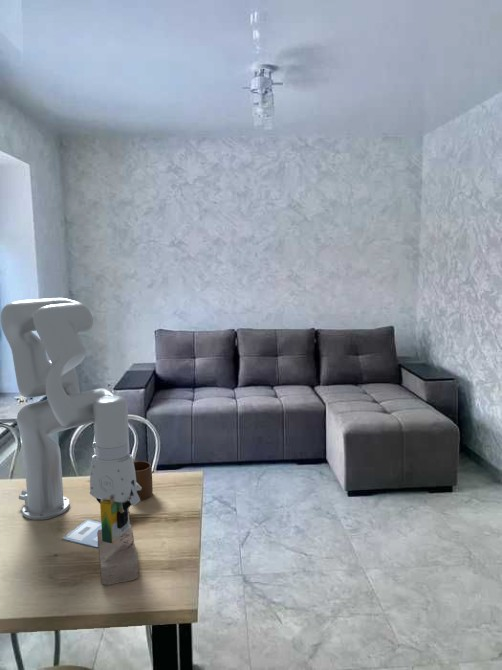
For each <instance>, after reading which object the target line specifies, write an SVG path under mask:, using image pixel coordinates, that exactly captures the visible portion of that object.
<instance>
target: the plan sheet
mask: <svg viewBox="0 0 502 670" xmlns="http://www.w3.org/2000/svg"><path fill="white" fill-rule="evenodd" d="M101 529H102V525H101V521H96V520H93V519H86V520H85V521H84V522H81V524H78V526H77V527H76V528H74V529H73V530H71V531H70V532H69V533H67V534H66V535H65V536H64V537H63V538H62V541H63V540H64V541H67V542H71V543H75V544H80V545H83V546H88V547H91V548H96V549H98V536H97V532H98V530H101Z"/></svg>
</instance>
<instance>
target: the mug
mask: <svg viewBox="0 0 502 670" xmlns="http://www.w3.org/2000/svg"><path fill="white" fill-rule="evenodd" d="M132 459H133V463H134V467H135V474H136V482H137V483H138V484H139V485H140V486H141V487H142V489H141V490H140V491H139V490H138V491H136V492H137V494H138V496H139V498H140V501H144V500H147V499H149V498H150V497H151V496H152V495H153V488H154V487H153V470H152V469H153V468H152V464H151V463H150V462H149V461H145V460H144V461H143V460H142V461H138V460H137V459H135V458H132Z"/></svg>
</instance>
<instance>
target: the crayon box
mask: <svg viewBox="0 0 502 670" xmlns="http://www.w3.org/2000/svg"><path fill="white" fill-rule="evenodd" d="M99 505H100V507H99V508H100V522H101V525H102V541H103V542H108V543H114V541H115V540H117V539H118V538H119V537H120V536H121V535H122V534H123V533H124V532H125V531H126V530H128V529H129V528H130V523H131V522H130V513H129V512H130V507H129V508H128V522H127V524H125V525H124V526H123V527H122V528H121V529H119V528H118V527H117V512H119V508H118V502H114V501H113V499H112V495H111V496H110V501H108V500H103V501H101V502H100V503H99Z"/></svg>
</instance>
